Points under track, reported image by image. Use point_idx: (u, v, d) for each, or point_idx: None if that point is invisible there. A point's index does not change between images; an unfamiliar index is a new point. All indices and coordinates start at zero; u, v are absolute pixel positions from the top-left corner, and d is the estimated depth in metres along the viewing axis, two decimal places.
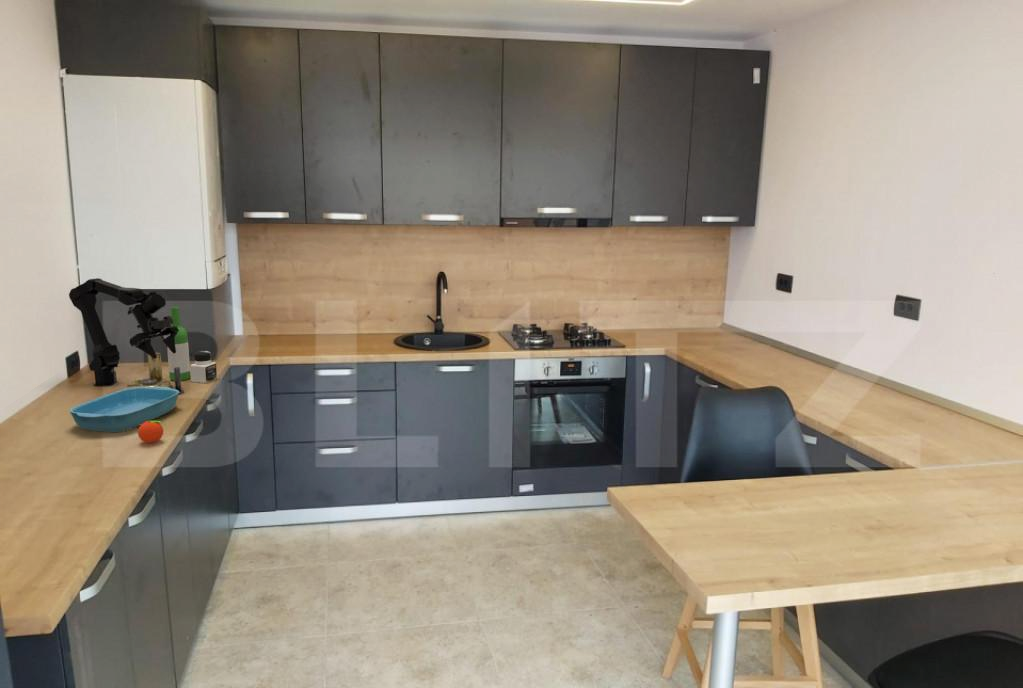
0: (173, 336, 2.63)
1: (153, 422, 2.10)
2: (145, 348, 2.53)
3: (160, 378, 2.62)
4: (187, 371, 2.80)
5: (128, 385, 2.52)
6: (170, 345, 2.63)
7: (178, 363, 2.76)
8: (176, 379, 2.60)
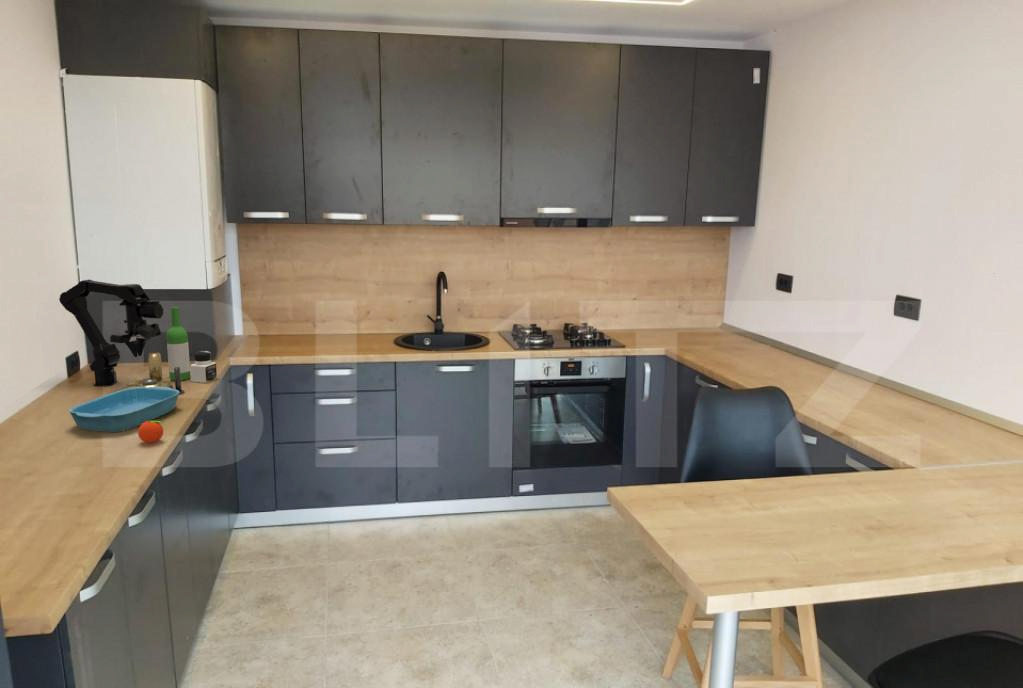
0: (145, 341, 2.67)
1: (153, 422, 2.10)
2: (131, 345, 2.64)
3: (160, 378, 2.62)
4: (187, 371, 2.80)
5: (128, 385, 2.52)
6: (138, 347, 2.67)
7: (178, 363, 2.76)
8: (176, 379, 2.60)
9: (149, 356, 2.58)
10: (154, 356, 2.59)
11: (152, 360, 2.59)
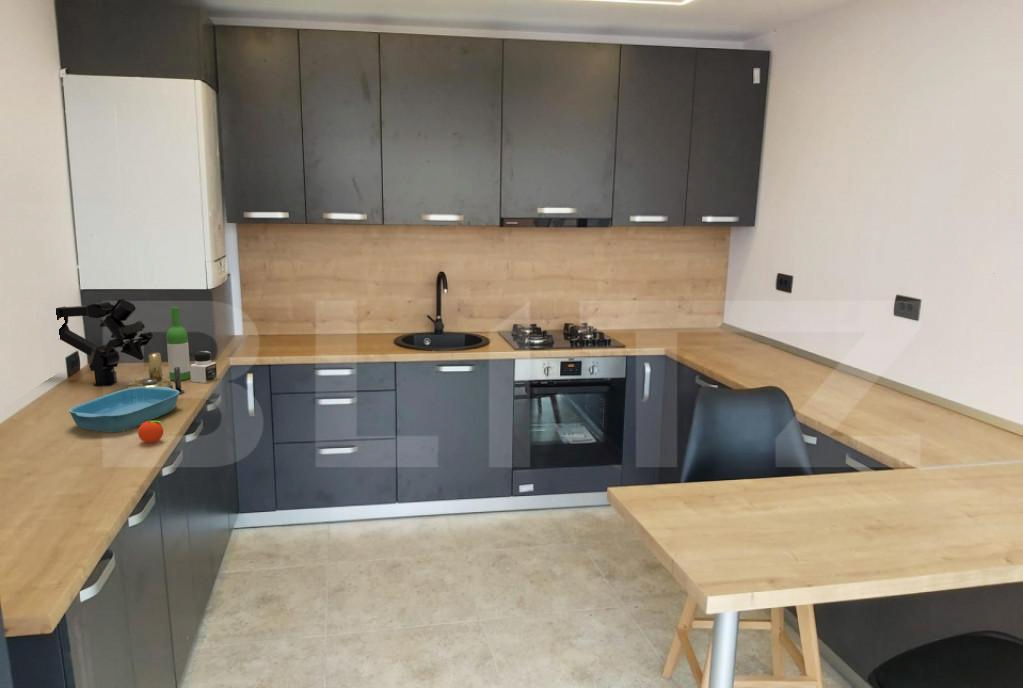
0: (138, 343, 2.64)
1: (153, 422, 2.10)
2: (131, 351, 2.62)
3: (160, 378, 2.62)
4: (187, 371, 2.80)
5: (128, 385, 2.52)
6: None
7: (178, 363, 2.76)
8: (176, 379, 2.60)
9: (149, 356, 2.58)
10: (154, 356, 2.59)
11: (152, 360, 2.59)
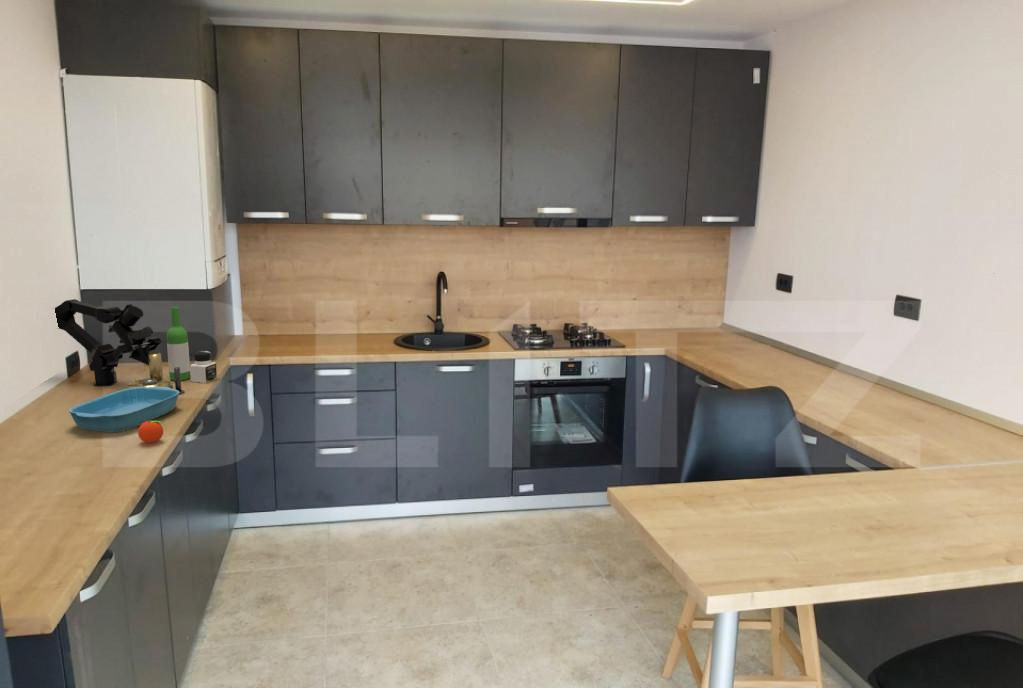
0: (147, 348, 2.63)
1: (153, 422, 2.10)
2: (139, 357, 2.62)
3: (160, 378, 2.62)
4: (187, 371, 2.80)
5: (128, 385, 2.52)
6: None
7: (178, 363, 2.76)
8: (176, 379, 2.60)
9: (149, 356, 2.58)
10: (154, 356, 2.59)
11: (152, 360, 2.59)
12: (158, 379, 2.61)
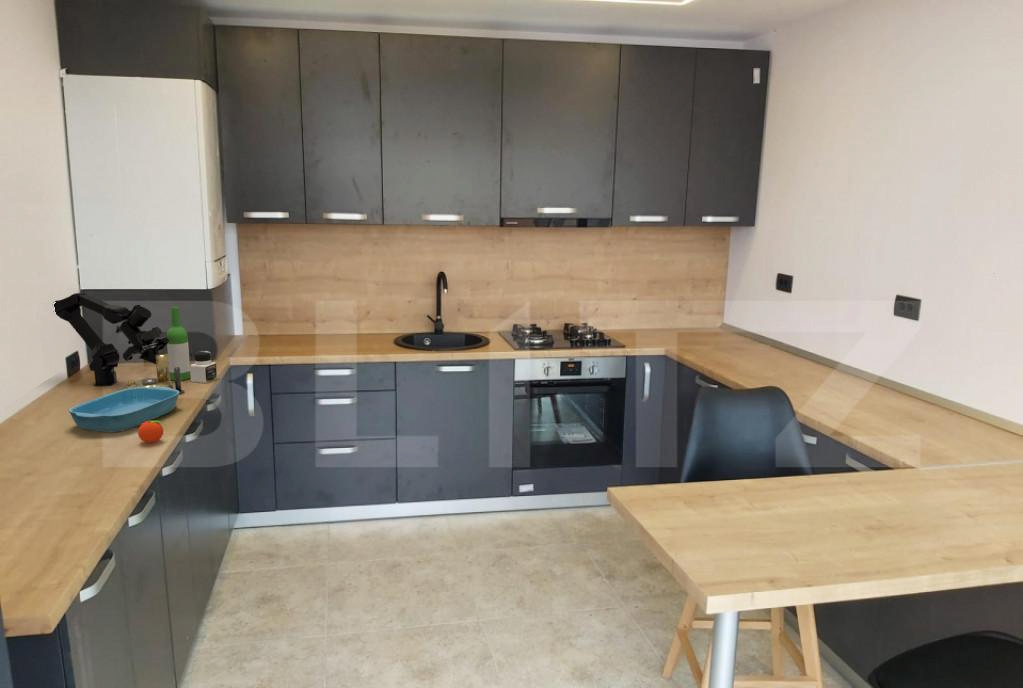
0: (156, 349, 2.63)
1: (153, 422, 2.10)
2: (149, 357, 2.62)
3: (165, 379, 2.60)
4: (187, 371, 2.80)
5: (129, 382, 2.55)
6: None
7: (178, 363, 2.76)
8: (176, 379, 2.60)
9: None
10: (158, 357, 2.58)
11: (157, 360, 2.58)
12: (162, 380, 2.60)
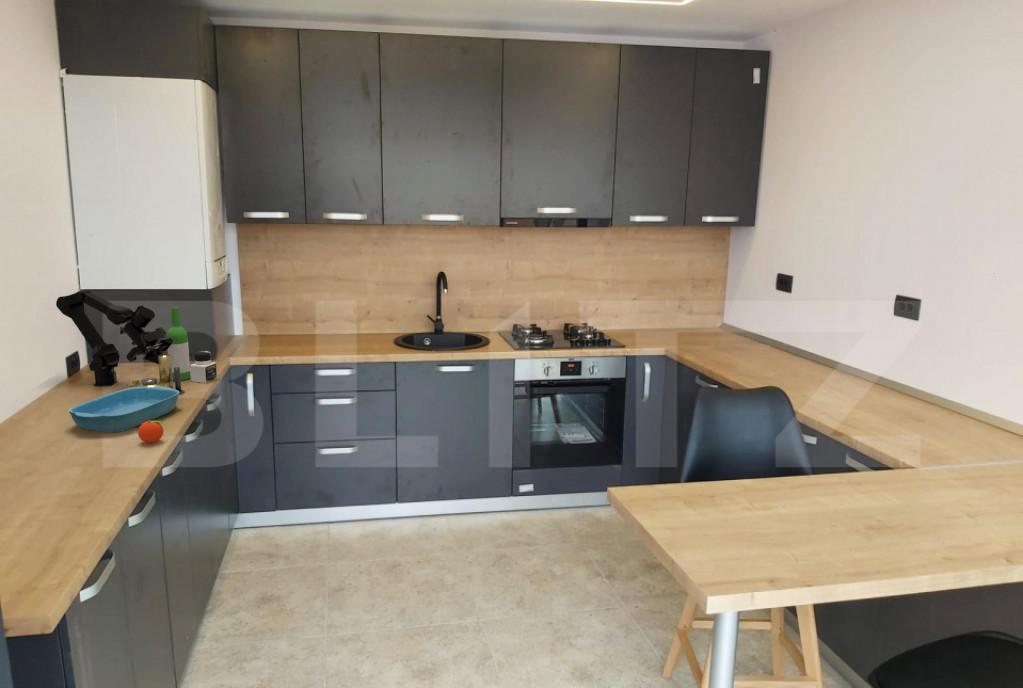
0: (160, 350, 2.62)
1: (153, 422, 2.10)
2: (153, 358, 2.61)
3: (165, 380, 2.59)
4: (187, 371, 2.80)
5: (132, 381, 2.58)
6: None
7: (178, 363, 2.76)
8: (176, 379, 2.60)
9: (158, 357, 2.58)
10: (159, 357, 2.57)
11: (158, 361, 2.58)
12: (163, 381, 2.59)
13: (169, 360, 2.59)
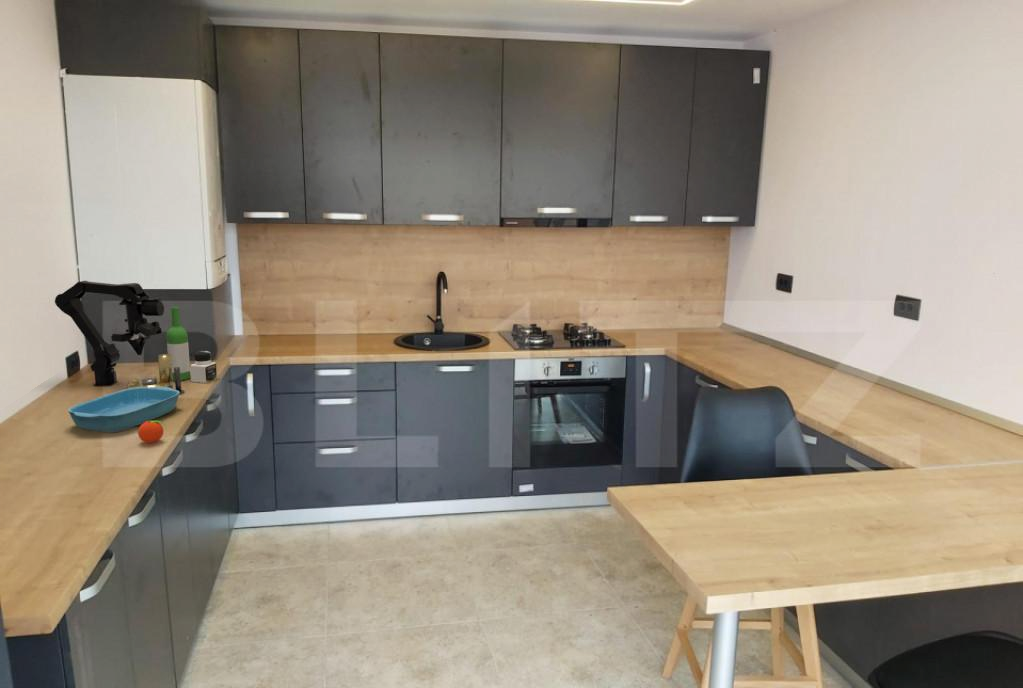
0: (145, 339, 2.68)
1: (153, 422, 2.10)
2: (134, 343, 2.67)
3: (165, 380, 2.59)
4: (187, 371, 2.80)
5: (132, 381, 2.58)
6: None
7: (178, 363, 2.76)
8: (176, 379, 2.60)
9: (158, 357, 2.58)
10: (159, 357, 2.57)
11: (158, 361, 2.58)
12: (163, 381, 2.59)
13: (169, 360, 2.59)
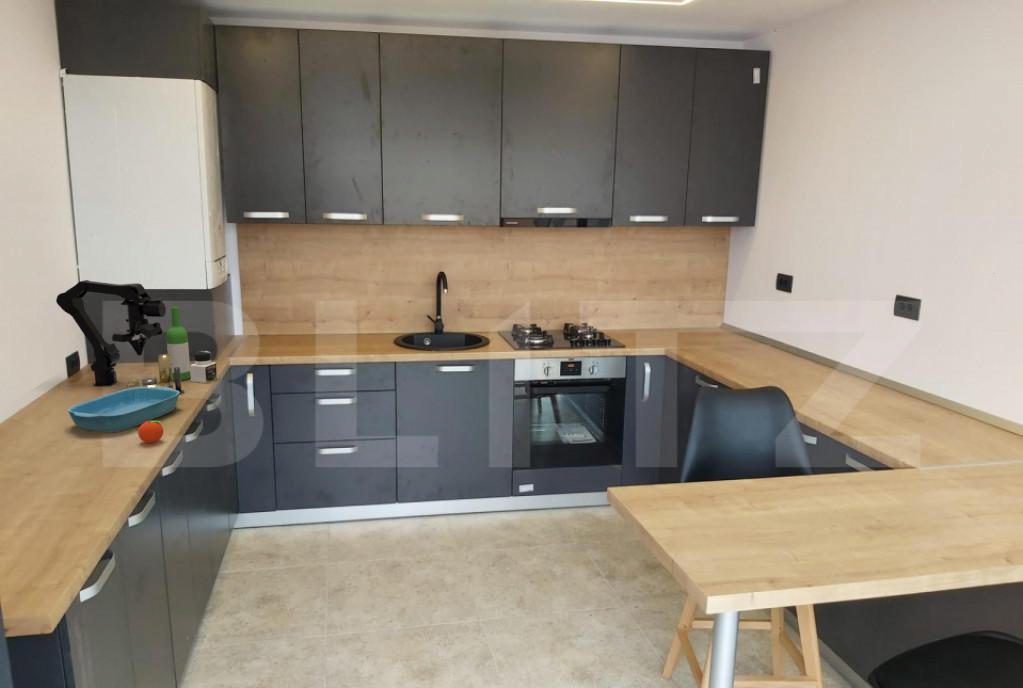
0: (145, 340, 2.68)
1: (153, 422, 2.10)
2: (134, 343, 2.67)
3: (165, 380, 2.59)
4: (187, 371, 2.80)
5: (132, 381, 2.58)
6: None
7: (178, 363, 2.76)
8: (176, 379, 2.60)
9: (158, 357, 2.58)
10: (159, 357, 2.57)
11: (158, 361, 2.58)
12: (163, 381, 2.59)
13: (169, 360, 2.59)
